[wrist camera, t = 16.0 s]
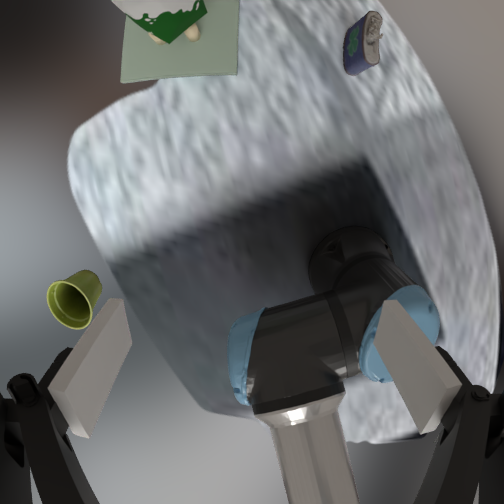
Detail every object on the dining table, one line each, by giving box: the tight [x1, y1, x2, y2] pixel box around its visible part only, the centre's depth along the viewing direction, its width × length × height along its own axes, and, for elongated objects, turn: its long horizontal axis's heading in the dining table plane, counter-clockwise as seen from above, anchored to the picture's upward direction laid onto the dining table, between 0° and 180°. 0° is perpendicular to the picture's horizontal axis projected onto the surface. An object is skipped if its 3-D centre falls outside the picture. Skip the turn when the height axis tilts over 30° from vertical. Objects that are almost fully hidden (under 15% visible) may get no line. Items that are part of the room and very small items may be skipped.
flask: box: [343, 11, 383, 76], centre depth 34 cm, size 9×3×11 cm, turn 173°
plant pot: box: [47, 270, 102, 329], centre depth 48 cm, size 9×9×9 cm
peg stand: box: [121, 0, 239, 83], centre depth 34 cm, size 18×18×6 cm
